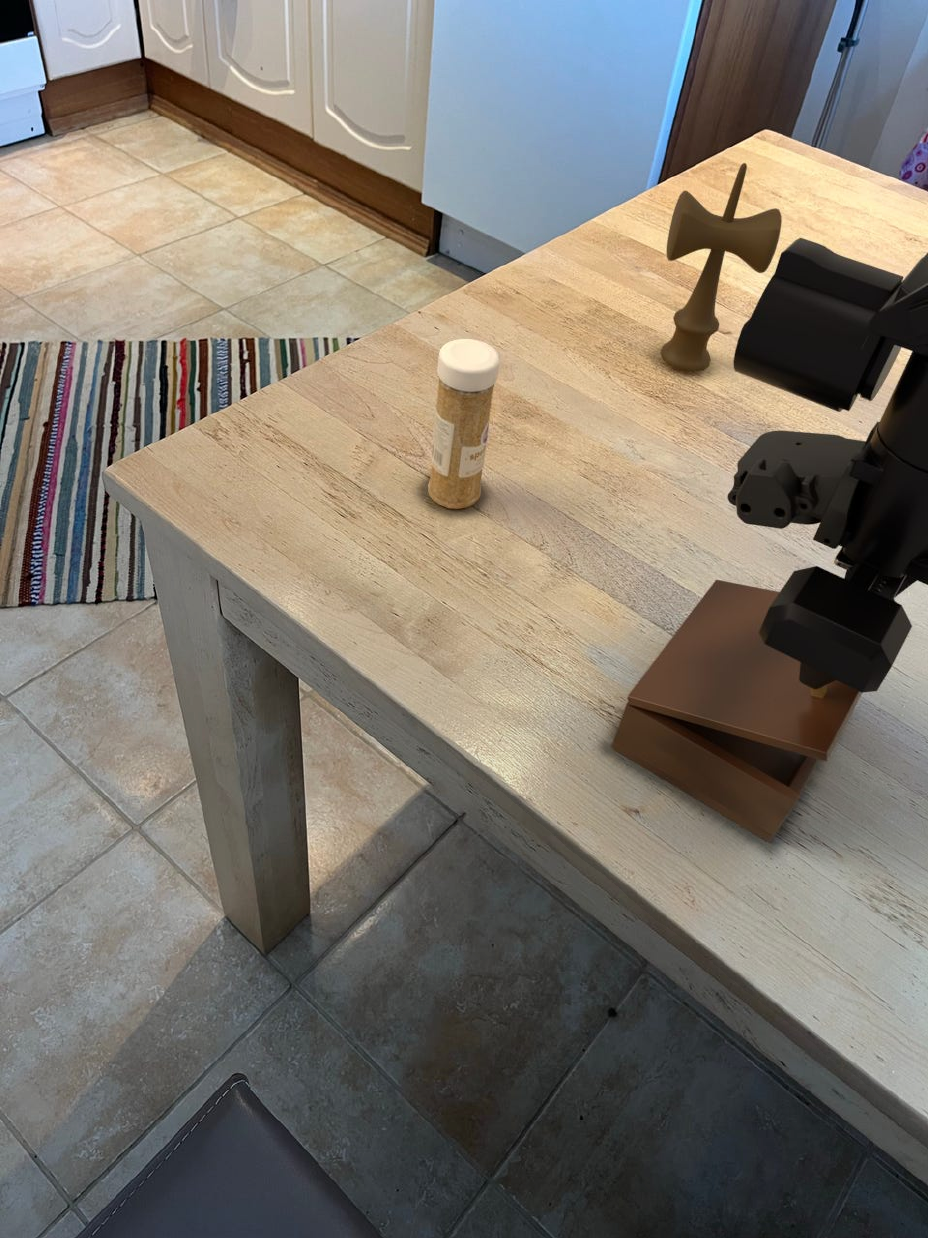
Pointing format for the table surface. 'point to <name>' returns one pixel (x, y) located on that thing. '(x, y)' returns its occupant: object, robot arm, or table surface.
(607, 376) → the table surface
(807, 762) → the keepsake box
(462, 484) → the spice jar
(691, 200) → the kendama
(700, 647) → the lid
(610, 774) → the table surface
